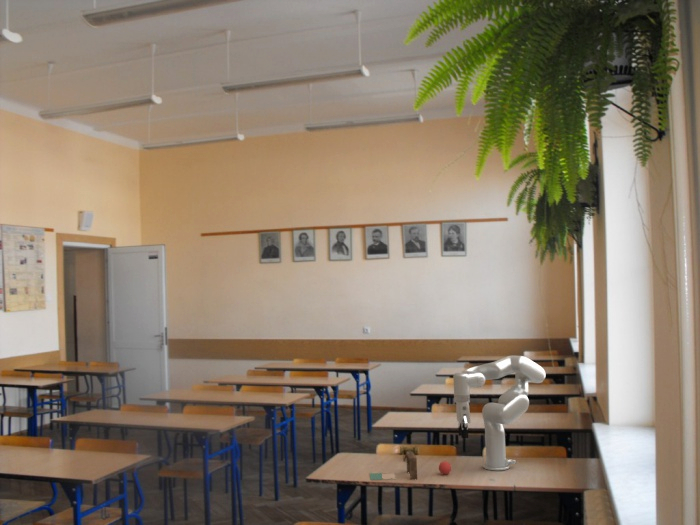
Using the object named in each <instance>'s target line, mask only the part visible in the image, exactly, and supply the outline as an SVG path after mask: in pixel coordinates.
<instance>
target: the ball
mask: <svg viewBox="0 0 700 525" xmlns="http://www.w3.org/2000/svg"><path fill="white" fill-rule="evenodd" d="M438 471H439V472H440V474H442V475H449V474H450V473H451V472H452V465H451V463H449V461H445V460H444V461H441V462H440V463H439V464H438Z"/></svg>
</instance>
